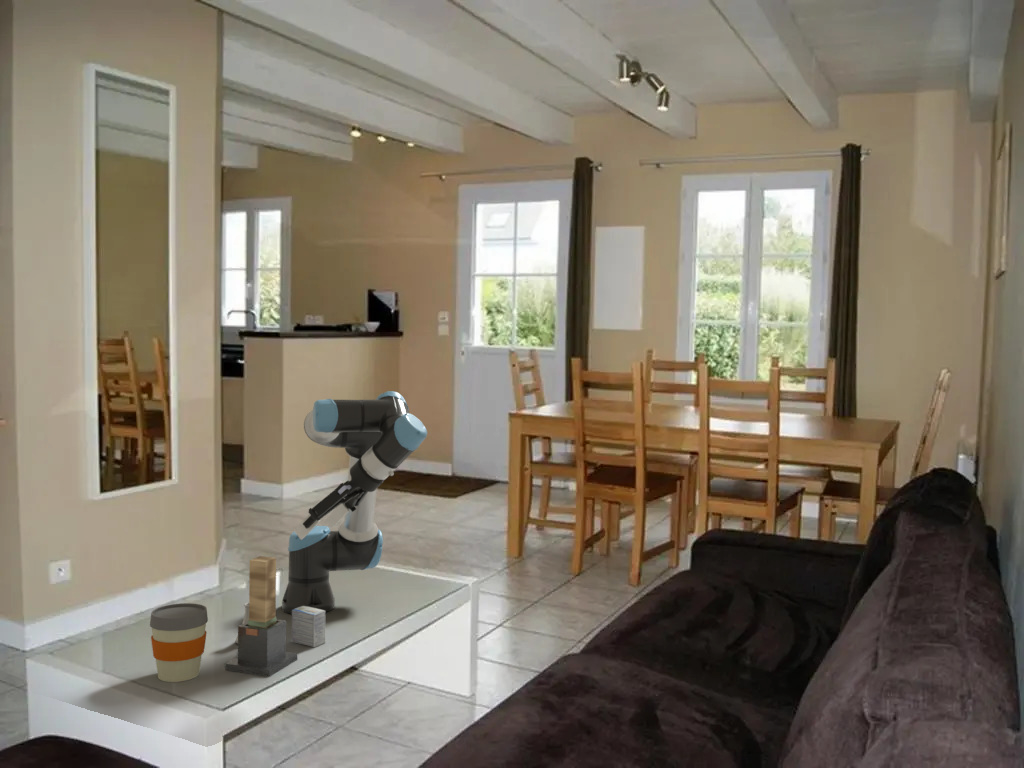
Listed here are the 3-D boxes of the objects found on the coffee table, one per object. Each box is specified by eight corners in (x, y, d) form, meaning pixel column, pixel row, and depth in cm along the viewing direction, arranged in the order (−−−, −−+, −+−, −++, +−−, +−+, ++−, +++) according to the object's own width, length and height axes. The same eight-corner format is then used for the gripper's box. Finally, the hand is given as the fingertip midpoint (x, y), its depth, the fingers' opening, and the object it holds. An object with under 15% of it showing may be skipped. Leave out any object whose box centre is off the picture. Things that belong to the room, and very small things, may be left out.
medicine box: (325, 643, 229) (326, 610, 229) (313, 648, 225) (314, 614, 225) (303, 637, 233) (303, 605, 233) (291, 642, 229) (291, 609, 229)
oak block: (259, 629, 215) (260, 556, 214) (276, 631, 214) (277, 557, 213) (248, 635, 211) (248, 560, 210) (265, 637, 209) (265, 562, 209)
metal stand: (254, 653, 220) (255, 613, 220) (297, 659, 216) (297, 619, 216) (225, 669, 209) (225, 627, 208) (269, 676, 205) (270, 633, 205)
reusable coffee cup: (138, 682, 200) (138, 616, 199) (169, 663, 212) (169, 601, 212) (189, 687, 198) (189, 620, 197) (217, 667, 210) (218, 604, 210)
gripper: (357, 489, 189) (294, 552, 195) (405, 474, 213) (349, 531, 218) (335, 463, 191) (274, 526, 196) (386, 451, 215) (330, 508, 220)
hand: (313, 529), depth 207 cm, fingers open, 13 cm apart
